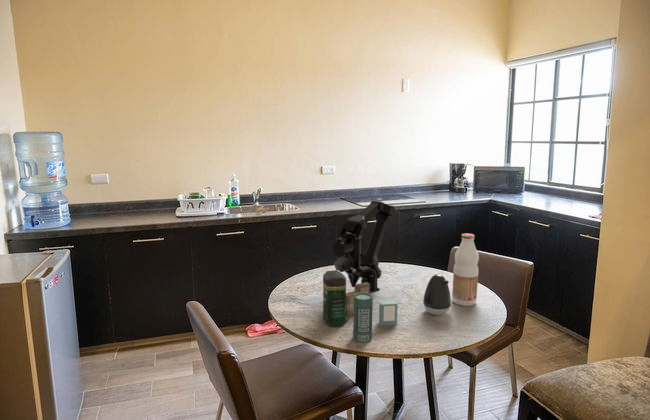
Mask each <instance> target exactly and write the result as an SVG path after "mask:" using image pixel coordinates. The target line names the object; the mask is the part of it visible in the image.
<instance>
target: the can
mask: <svg viewBox="0 0 650 420" xmlns="http://www.w3.org/2000/svg"><path fill="white" fill-rule="evenodd" d="M373 298H374V297H373V295H372V294H371V293H370V294H368V293H357V294H355V295H354V314H353V319H352V320H353V324H352V325H353V326H352V327H353V329H352V331H353V332H352V334H353V337H352V338H353V340H354V341H356V342H358V343H368V342H371V341H372V340H373V303H374V301H373V300H374V299H373Z"/></svg>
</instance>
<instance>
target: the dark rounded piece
mask: <svg viewBox="0 0 650 420" xmlns="http://www.w3.org/2000/svg"><path fill="white" fill-rule="evenodd" d="M448 284H450V283H449V280H446V278H445V276H443V275H441V274H434V275H432V276H431V278H430V279H429V280H428V283H427V285H426V287H425V291H424V294H423V300H422V302H423V305H424V309H425V311H427V313H429V314H430V315H433V316H442V315H445V314H447V313H448V311H449V310H450V307H451V305H452V299H451V298H452V297H451V293H450V292H451V291H450V287H449V285H448Z"/></svg>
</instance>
